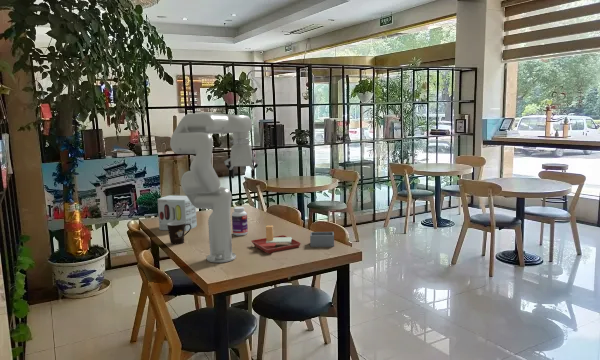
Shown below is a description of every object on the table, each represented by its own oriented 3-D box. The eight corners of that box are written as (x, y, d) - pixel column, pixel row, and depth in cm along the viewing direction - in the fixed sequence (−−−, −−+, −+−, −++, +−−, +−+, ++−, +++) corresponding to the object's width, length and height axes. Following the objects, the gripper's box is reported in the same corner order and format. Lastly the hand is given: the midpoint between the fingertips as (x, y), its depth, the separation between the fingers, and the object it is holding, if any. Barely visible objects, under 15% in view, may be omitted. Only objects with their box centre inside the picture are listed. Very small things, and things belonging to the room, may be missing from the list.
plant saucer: (302, 249, 209) (301, 242, 209) (267, 256, 200) (266, 249, 200) (284, 241, 225) (283, 234, 224) (250, 247, 216) (250, 240, 216)
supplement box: (158, 230, 254) (156, 199, 251) (170, 225, 266) (168, 195, 264) (186, 231, 250) (184, 199, 247) (197, 226, 262) (195, 195, 260)
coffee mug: (168, 245, 221) (167, 226, 219) (168, 241, 229) (167, 222, 227) (192, 243, 224) (191, 223, 222) (192, 239, 232) (190, 220, 231)
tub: (334, 248, 208) (333, 235, 208) (310, 248, 209) (310, 235, 208) (334, 244, 215) (333, 231, 214) (311, 244, 216) (310, 232, 215)
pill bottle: (245, 236, 235) (243, 209, 233) (230, 236, 237) (229, 209, 235) (249, 232, 243) (248, 206, 241) (235, 232, 244) (234, 206, 243)
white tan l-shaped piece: (291, 243, 208) (290, 227, 207) (266, 244, 209) (265, 228, 208) (291, 239, 216) (291, 223, 215) (267, 239, 216) (267, 224, 215)
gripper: (221, 143, 213) (223, 179, 215) (257, 142, 212) (259, 178, 214) (225, 142, 220) (226, 177, 223) (260, 141, 219) (261, 176, 221)
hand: (242, 177), depth 218 cm, fingers open, 9 cm apart
